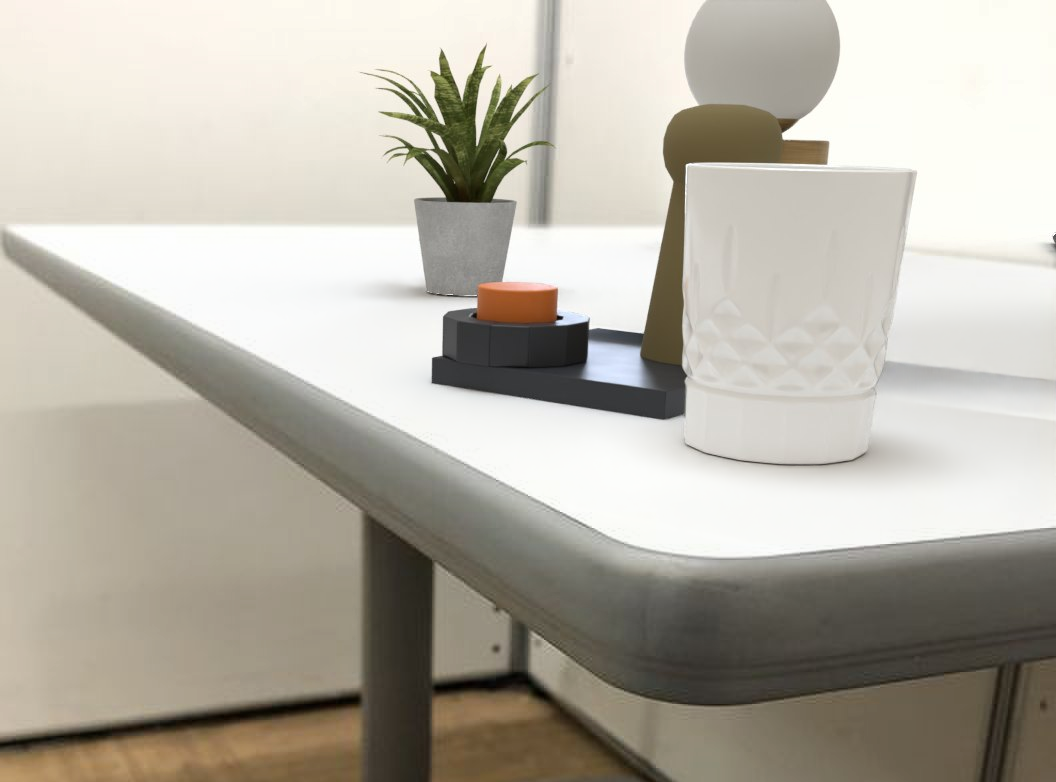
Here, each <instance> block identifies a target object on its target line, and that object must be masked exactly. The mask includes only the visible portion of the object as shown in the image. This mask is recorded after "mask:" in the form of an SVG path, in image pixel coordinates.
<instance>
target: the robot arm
mask: <svg viewBox="0 0 1056 782" xmlns="http://www.w3.org/2000/svg"><path fill="white" fill-rule="evenodd" d="M1052 240H1053V242H1054V244H1055V245H1056V234H1055V235H1054V236H1053V235H1052Z"/></svg>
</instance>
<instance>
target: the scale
mask: <svg viewBox="0 0 1056 782" xmlns="http://www.w3.org/2000/svg"><path fill="white" fill-rule="evenodd" d="M590 322H591V318H590V316H588V315H585V314H581V313H578V312H573V311H567V310H566V311H564V310H559V309H557V321H552V322H532V323H517V322H498V321H490V320H481V319H477V307H469V308H462V309H456V310H455V309H454V310H449V311H447V312H446V313H444V315H443V316H442V347H441V348H442V350H441V355H438V356H432V357H431V384H434V385H439V386H448V387H453V388H459V389H465V390H471V391H472V390H473V391H477V392H483V393H484V392H485V393H490V394H497V395H503V396H509V397H510V396H511V397H516V398H522V397H523V399H528V398H529V399H530V400H535V401H542V402H548V403H555V404H559V405H560V404H562V405H567V406H572V407H573V406H574V407H579V408H586V409H591V410H598V411H605V412H612V413H618V414H624V415H631V416H637V417H642V418H650V419H656V420H661V421H666V420H669V419H672V418H675V417H678V416H684V404H685V378H686V377H687V375H686V373H685V372H684V370H683V367H682V365H675V364H669V363H662V362H657V361H653V360H649V359H646V358H644V357H642V356H641V355H640V351H641V345H642V340H643V335H644V332H637V331H635V332H634V331H626V330H618V329H610V328H602V327H601V328H600V327H596V328H595V327H594V328H590Z"/></svg>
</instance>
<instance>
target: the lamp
mask: <svg viewBox="0 0 1056 782" xmlns="http://www.w3.org/2000/svg"><path fill="white" fill-rule="evenodd" d="M683 52H684V53H683V64H684V66H683V67H684V72H685V78H686V81H687V85H688V87H689V90H690V92H691V94H692V96H693V99H694V101H696V103H697V106H699V105H705V104H736V105H747V106H751V107H755V108H759V109H762V110H765V111H768V112H770V113H771V114H772V115H774V116H775V117H776V119H777V121H778V123H779V125H780V127H781V130H782V134H783V133H785V132H786V131H788V130H790V129H792V127H794V126H795V125H796V124H798V122H799V121H800V120H801V119H803V118H805V117H806V116H808V115H809V114H810V113H812V112H813V111H814V110H815V108H817V106H819V104H820V103H821V102H822V101H823V99H824V98H825V96H826V95H827V93H828V92H829V90H830V88H831V86H832V84H833V82H834V79H835V76H836V74H837V70H838V67H839V62H840V56H841V37H840V31H839V25H838V21H837V19H836V16H835V14H834V12H833V10H832V8H831V6H830V4H829V3H828V1H827V0H704V2H703V3H702V5H700V7H699V8H698V10H697V12H696V13H695V15H694V17H693V19H692V21H691V24H690V26H689V29H688V32H687V35H686V39H685V45H684V51H683ZM829 151H830V141H829V140H821V139H820V140H819V139H787V138H786V139H784V138H783V148H782V157H781V159H780V162H779V164H815V165H828V161H829V153H830V152H829Z"/></svg>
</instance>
